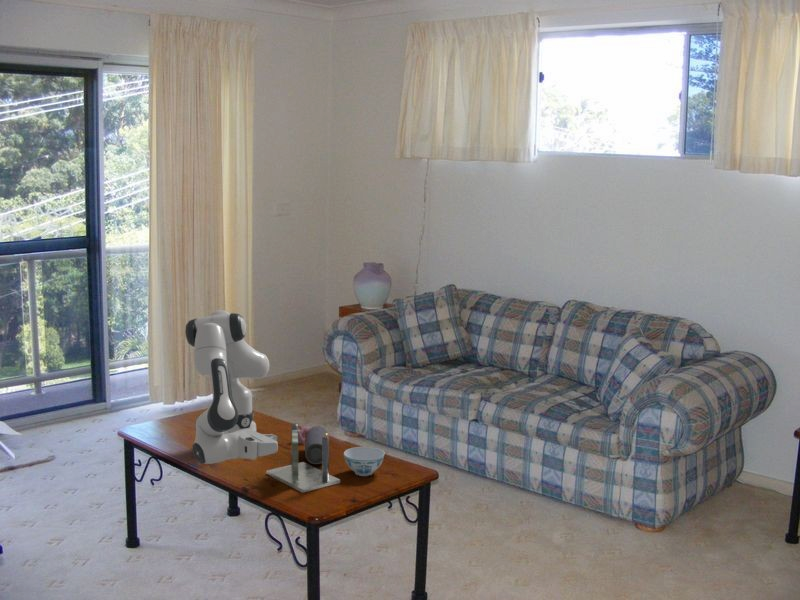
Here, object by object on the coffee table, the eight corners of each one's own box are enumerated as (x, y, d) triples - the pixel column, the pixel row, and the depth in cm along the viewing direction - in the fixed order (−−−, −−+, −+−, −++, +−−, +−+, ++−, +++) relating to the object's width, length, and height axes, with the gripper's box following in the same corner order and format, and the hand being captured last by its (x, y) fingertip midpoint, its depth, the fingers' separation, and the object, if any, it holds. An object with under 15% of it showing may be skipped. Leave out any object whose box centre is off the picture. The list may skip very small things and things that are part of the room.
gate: (292, 465, 321) (292, 430, 319) (297, 465, 322) (297, 430, 320) (292, 480, 306) (292, 443, 304) (298, 480, 306) (298, 443, 304)
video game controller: (313, 441, 362) (308, 425, 363) (320, 438, 359) (315, 422, 360) (296, 447, 354) (290, 430, 355) (303, 444, 351) (297, 427, 353)
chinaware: (337, 477, 316) (337, 456, 315) (353, 464, 330) (353, 444, 329) (375, 482, 311) (375, 461, 310) (390, 469, 325) (390, 449, 324)
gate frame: (266, 473, 318) (266, 424, 315) (303, 464, 328) (303, 416, 326) (302, 492, 300) (302, 440, 297) (340, 482, 310) (340, 432, 307)
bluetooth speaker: (305, 448, 348) (305, 424, 346) (329, 448, 349) (329, 424, 347) (303, 467, 325) (303, 442, 324) (328, 467, 326) (328, 441, 325)
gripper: (225, 445, 303) (260, 438, 311) (255, 461, 287) (290, 453, 296) (225, 428, 302) (259, 421, 310) (255, 442, 286) (290, 435, 295)
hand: (275, 437), depth 303 cm, fingers closed
